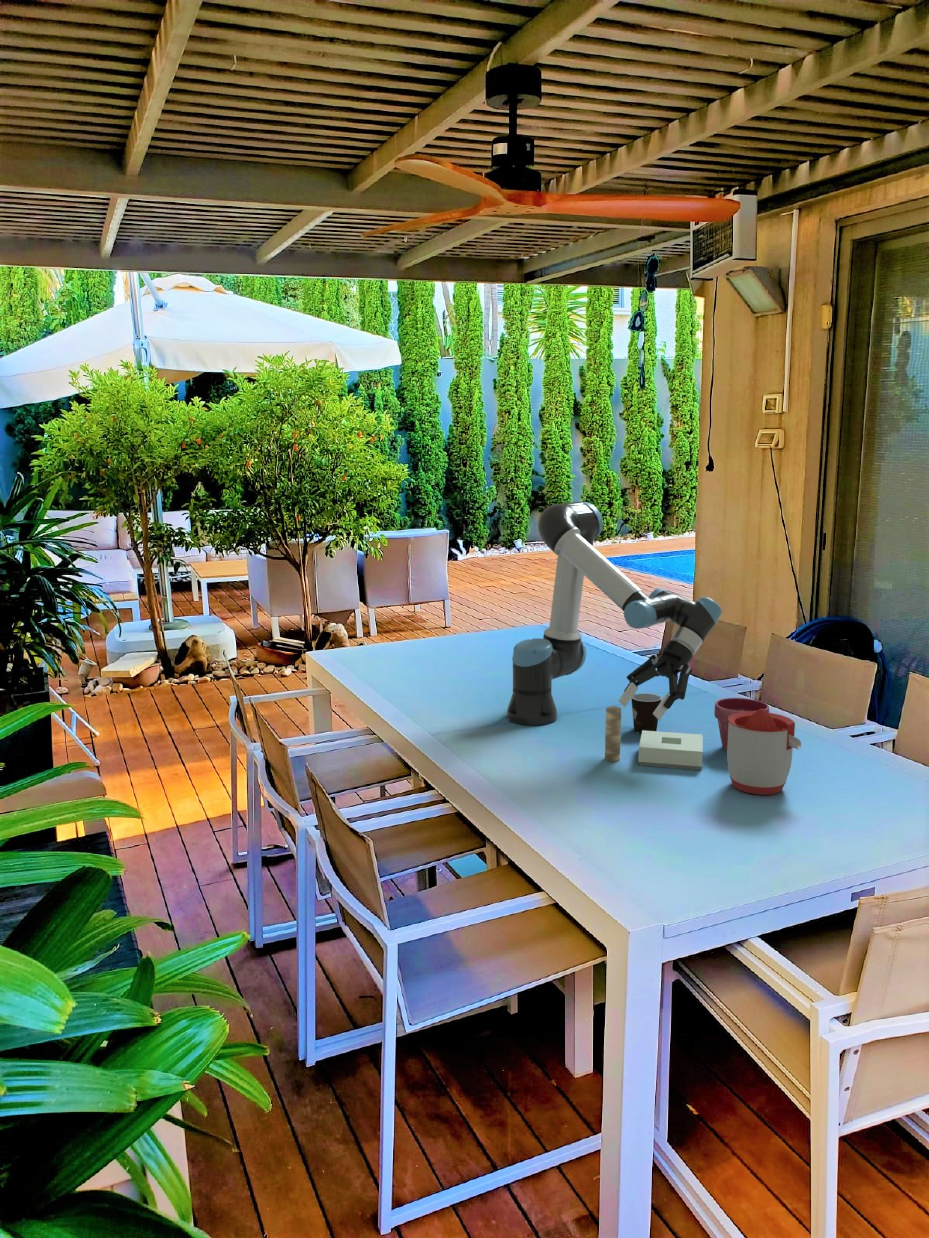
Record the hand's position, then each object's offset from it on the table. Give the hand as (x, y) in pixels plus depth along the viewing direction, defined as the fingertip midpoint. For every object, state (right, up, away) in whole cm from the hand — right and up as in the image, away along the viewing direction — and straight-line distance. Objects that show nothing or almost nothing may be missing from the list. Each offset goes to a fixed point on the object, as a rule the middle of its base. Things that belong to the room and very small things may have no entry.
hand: (638, 710), depth 251 cm
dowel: (-7, -13, 0) cm, 15 cm away
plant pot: (+29, -11, +7) cm, 32 cm away
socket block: (+9, -13, 0) cm, 15 cm away
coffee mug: (+7, -8, +25) cm, 27 cm away
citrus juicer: (+26, -17, -20) cm, 37 cm away
